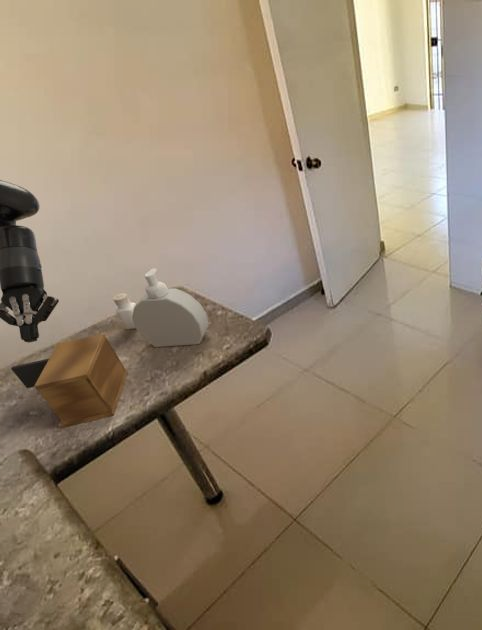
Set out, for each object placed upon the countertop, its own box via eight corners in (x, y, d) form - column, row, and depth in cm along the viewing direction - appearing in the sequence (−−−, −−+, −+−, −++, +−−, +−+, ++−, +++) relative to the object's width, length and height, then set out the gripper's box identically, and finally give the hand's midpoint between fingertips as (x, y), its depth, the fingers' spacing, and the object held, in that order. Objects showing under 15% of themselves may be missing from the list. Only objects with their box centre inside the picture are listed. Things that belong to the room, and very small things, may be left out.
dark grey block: (21, 411, 93) (-6, 380, 88) (33, 389, 99) (8, 359, 93) (72, 399, 96) (48, 368, 90) (81, 379, 101) (59, 348, 95)
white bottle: (141, 328, 118) (125, 299, 113) (125, 330, 118) (108, 301, 112) (145, 319, 121) (130, 291, 116) (129, 322, 121) (114, 293, 115)
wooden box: (61, 428, 91) (27, 387, 84) (80, 383, 101) (52, 344, 94) (114, 415, 93) (86, 374, 86) (127, 372, 104) (103, 333, 97)
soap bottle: (215, 331, 115) (188, 266, 104) (208, 344, 111) (179, 277, 99) (155, 335, 115) (121, 270, 104) (145, 348, 111) (109, 281, 99)
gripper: (-26, 271, 97) (-16, 346, 94) (42, 259, 100) (53, 332, 97) (-1, 280, 104) (9, 350, 102) (62, 269, 107) (72, 336, 105)
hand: (30, 341), depth 99 cm, fingers closed
